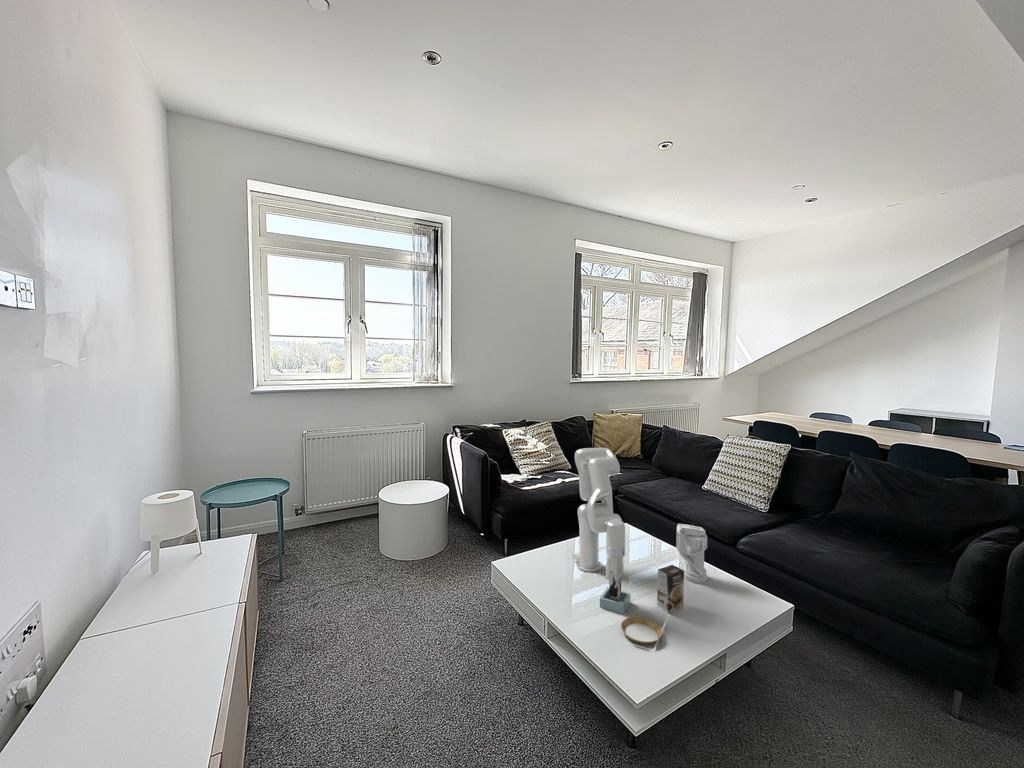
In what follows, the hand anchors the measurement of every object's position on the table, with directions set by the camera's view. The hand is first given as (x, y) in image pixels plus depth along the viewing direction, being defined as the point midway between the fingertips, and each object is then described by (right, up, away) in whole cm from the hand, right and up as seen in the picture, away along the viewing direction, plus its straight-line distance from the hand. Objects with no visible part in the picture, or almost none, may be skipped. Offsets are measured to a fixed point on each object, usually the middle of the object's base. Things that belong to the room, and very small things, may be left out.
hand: (615, 592), depth 175 cm
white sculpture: (+42, -5, +23) cm, 48 cm away
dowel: (0, -5, 0) cm, 5 cm away
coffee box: (+23, -6, -1) cm, 24 cm away
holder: (0, -6, 0) cm, 6 cm away
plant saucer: (+5, -7, -18) cm, 20 cm away
